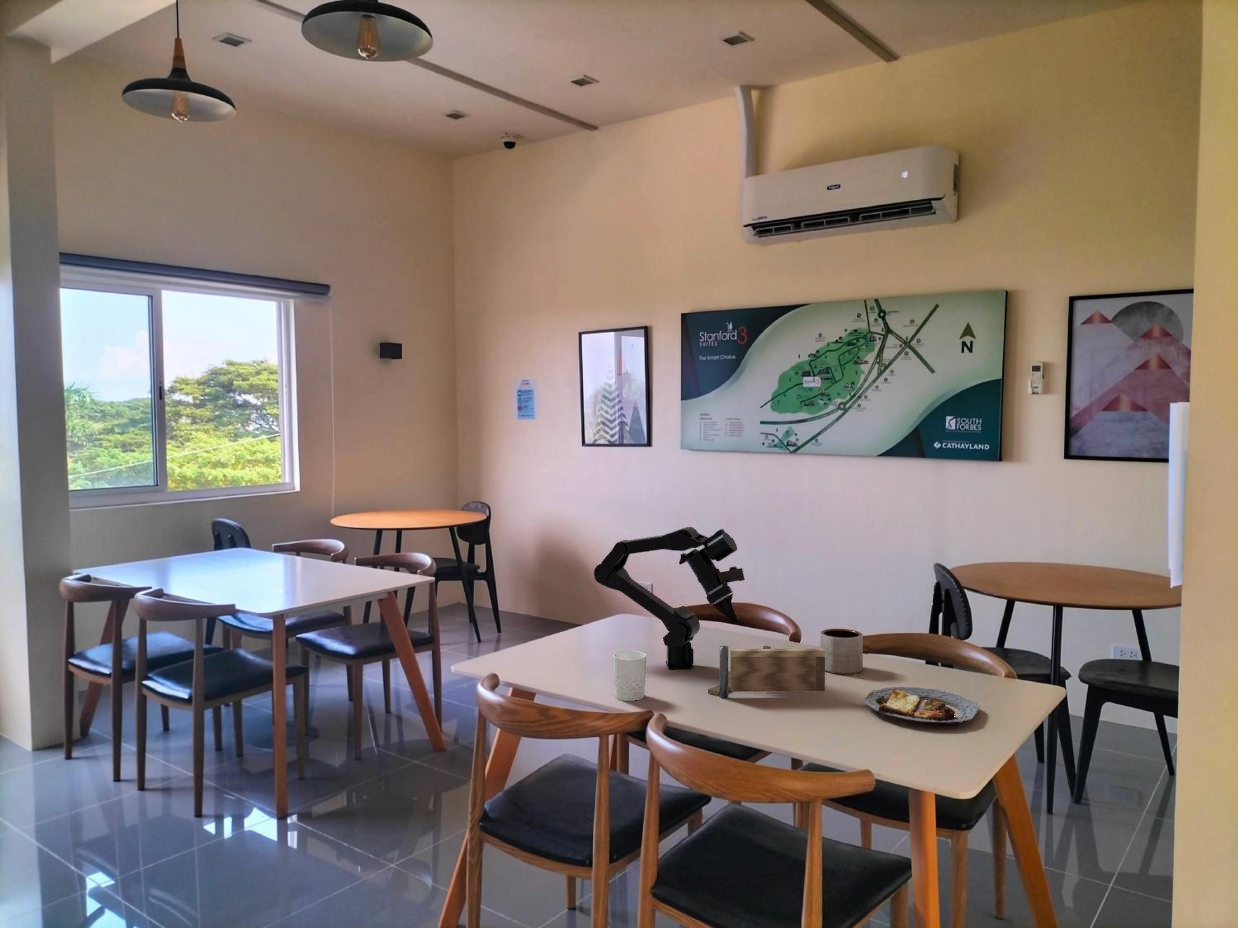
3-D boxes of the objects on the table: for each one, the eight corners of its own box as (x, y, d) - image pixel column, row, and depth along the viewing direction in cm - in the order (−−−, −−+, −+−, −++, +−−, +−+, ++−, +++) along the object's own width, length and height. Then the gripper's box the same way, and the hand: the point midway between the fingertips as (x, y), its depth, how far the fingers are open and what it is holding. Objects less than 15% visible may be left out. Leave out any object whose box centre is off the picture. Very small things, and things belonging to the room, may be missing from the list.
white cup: (651, 694, 205) (651, 652, 204) (638, 704, 198) (638, 661, 197) (621, 690, 208) (621, 649, 208) (607, 699, 201) (607, 657, 201)
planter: (816, 672, 223) (817, 635, 222) (823, 661, 233) (823, 626, 232) (860, 677, 218) (860, 639, 218) (864, 665, 229) (865, 630, 228)
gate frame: (725, 698, 201) (725, 648, 201) (705, 694, 205) (705, 644, 204) (782, 674, 220) (782, 628, 220) (763, 670, 224) (763, 625, 224)
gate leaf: (731, 691, 202) (731, 650, 201) (730, 689, 203) (730, 648, 203) (824, 691, 202) (825, 650, 201) (823, 688, 204) (823, 648, 203)
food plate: (965, 738, 175) (965, 720, 175) (852, 718, 188) (852, 702, 188) (986, 707, 196) (986, 692, 196) (883, 691, 209) (883, 677, 209)
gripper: (730, 552, 215) (764, 607, 212) (732, 555, 233) (763, 606, 230) (692, 575, 216) (725, 630, 212) (697, 577, 234) (727, 627, 231)
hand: (737, 622), depth 221 cm, fingers closed
